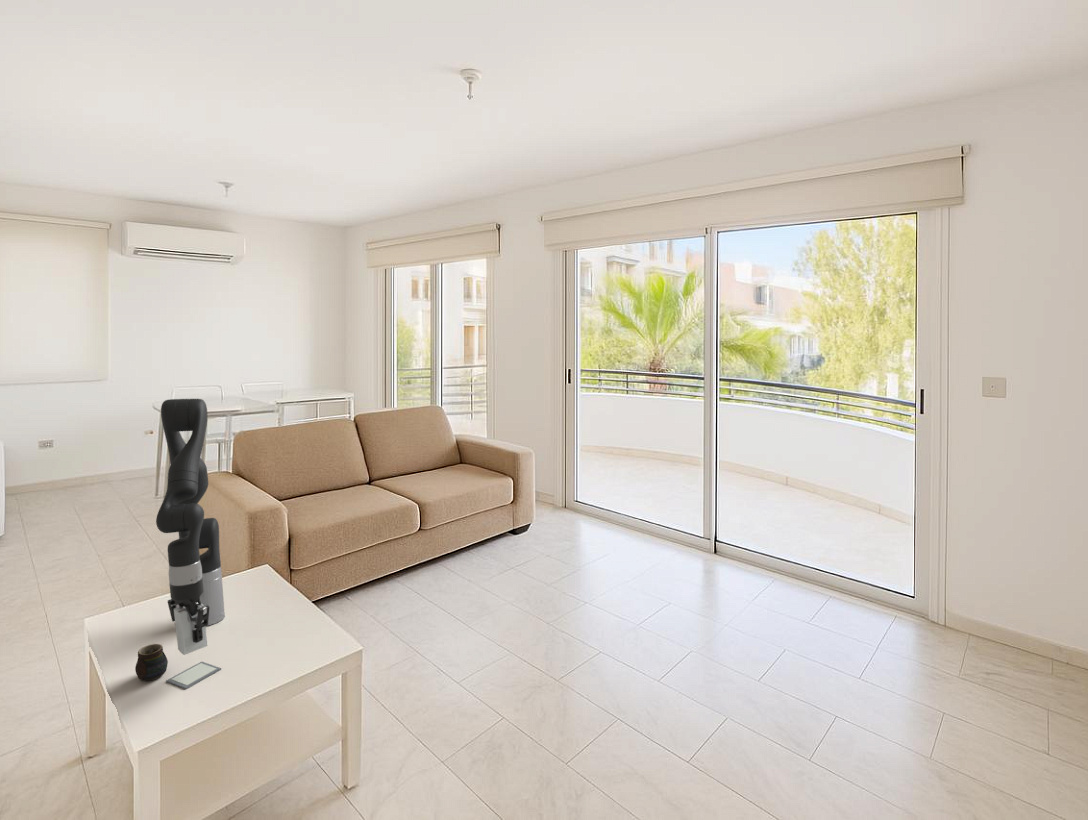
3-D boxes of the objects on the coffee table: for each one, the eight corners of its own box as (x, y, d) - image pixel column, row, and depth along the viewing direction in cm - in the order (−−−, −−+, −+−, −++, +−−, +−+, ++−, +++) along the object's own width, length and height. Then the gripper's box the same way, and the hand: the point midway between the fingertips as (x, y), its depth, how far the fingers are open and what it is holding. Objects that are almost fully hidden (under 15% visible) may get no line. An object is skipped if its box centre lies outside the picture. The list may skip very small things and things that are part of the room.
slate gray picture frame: (166, 681, 157) (166, 679, 157) (201, 662, 166) (201, 661, 166) (186, 689, 154) (185, 687, 154) (221, 669, 163) (221, 667, 163)
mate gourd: (163, 665, 165) (160, 632, 164) (173, 676, 160) (170, 641, 159) (132, 677, 160) (129, 642, 158) (142, 688, 155) (139, 652, 153)
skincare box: (201, 641, 163) (198, 599, 162) (208, 646, 160) (204, 604, 159) (176, 650, 158) (172, 607, 157) (183, 656, 156) (179, 612, 154)
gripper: (154, 579, 156) (160, 640, 159) (190, 588, 150) (195, 652, 153) (182, 568, 163) (187, 627, 165) (217, 577, 157) (222, 638, 159)
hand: (191, 638), depth 159 cm, fingers closed on skincare box, 5 cm apart
